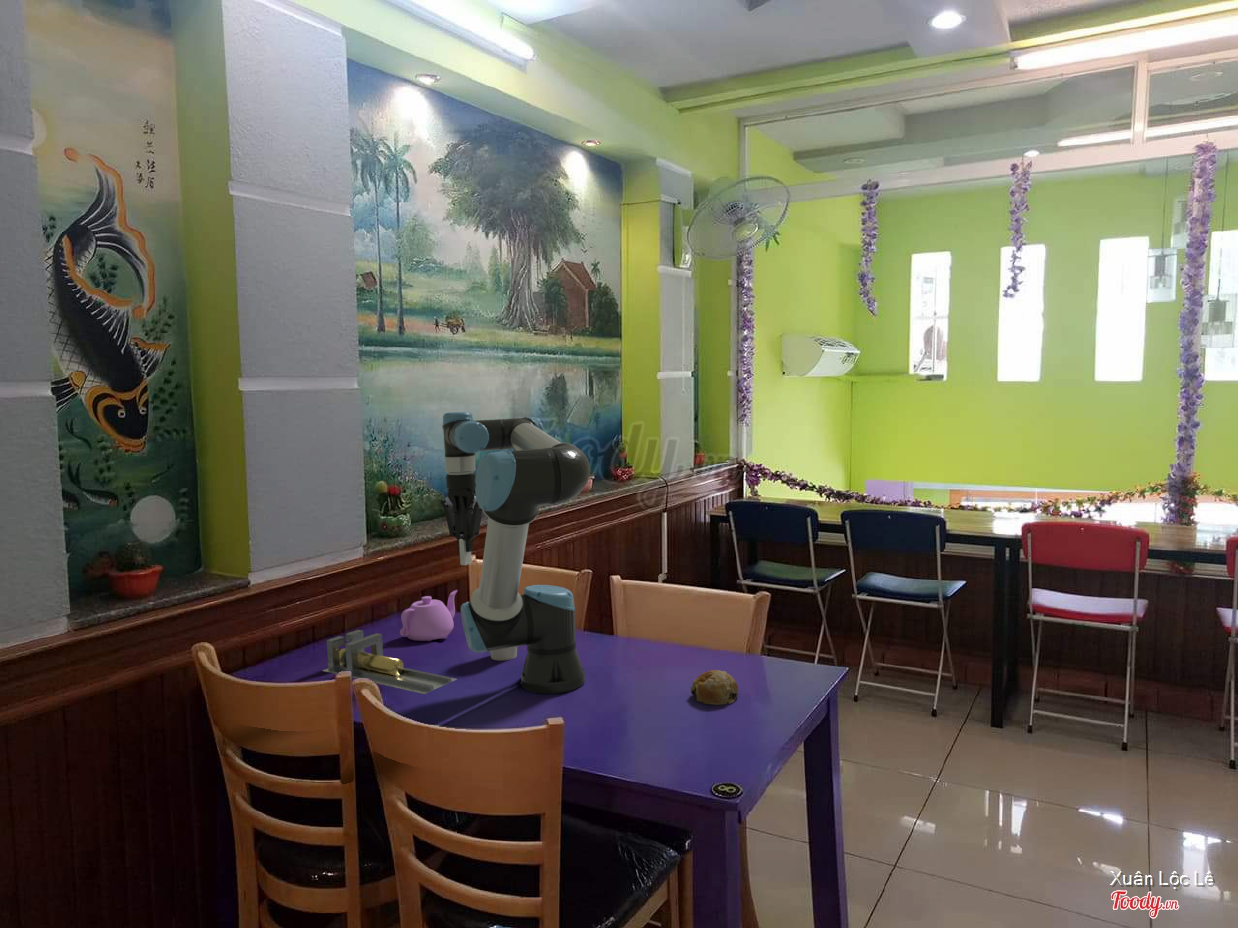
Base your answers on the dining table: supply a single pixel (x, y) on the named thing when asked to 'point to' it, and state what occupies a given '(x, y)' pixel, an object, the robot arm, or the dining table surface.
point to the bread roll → (715, 688)
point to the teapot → (428, 619)
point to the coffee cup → (504, 654)
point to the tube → (375, 662)
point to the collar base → (405, 680)
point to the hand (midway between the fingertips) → (466, 563)
